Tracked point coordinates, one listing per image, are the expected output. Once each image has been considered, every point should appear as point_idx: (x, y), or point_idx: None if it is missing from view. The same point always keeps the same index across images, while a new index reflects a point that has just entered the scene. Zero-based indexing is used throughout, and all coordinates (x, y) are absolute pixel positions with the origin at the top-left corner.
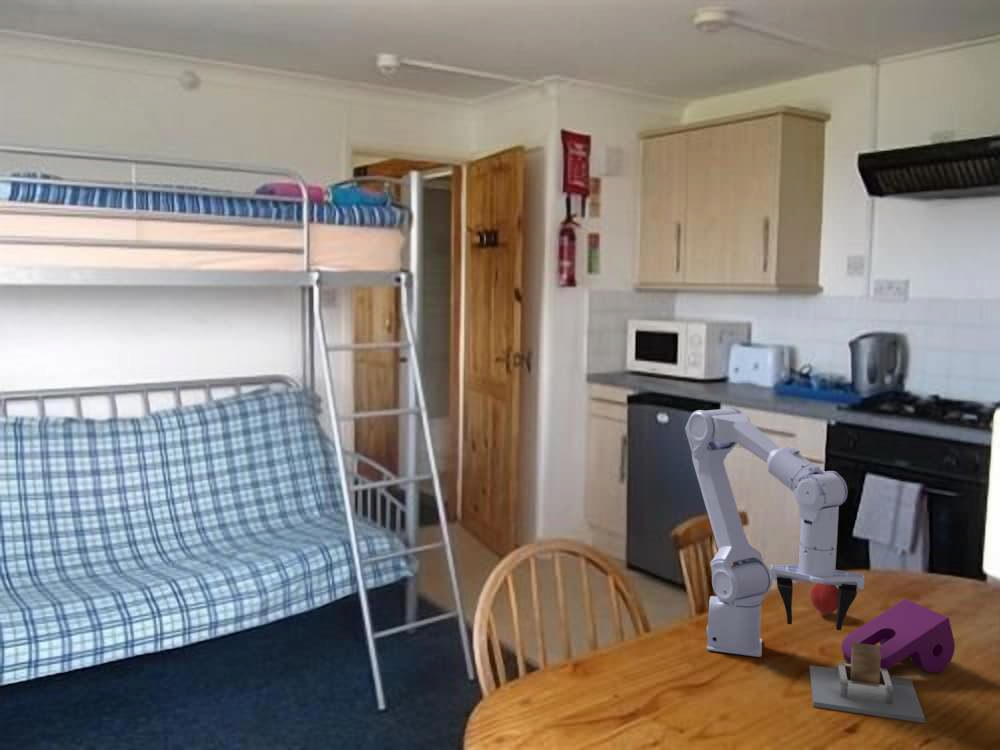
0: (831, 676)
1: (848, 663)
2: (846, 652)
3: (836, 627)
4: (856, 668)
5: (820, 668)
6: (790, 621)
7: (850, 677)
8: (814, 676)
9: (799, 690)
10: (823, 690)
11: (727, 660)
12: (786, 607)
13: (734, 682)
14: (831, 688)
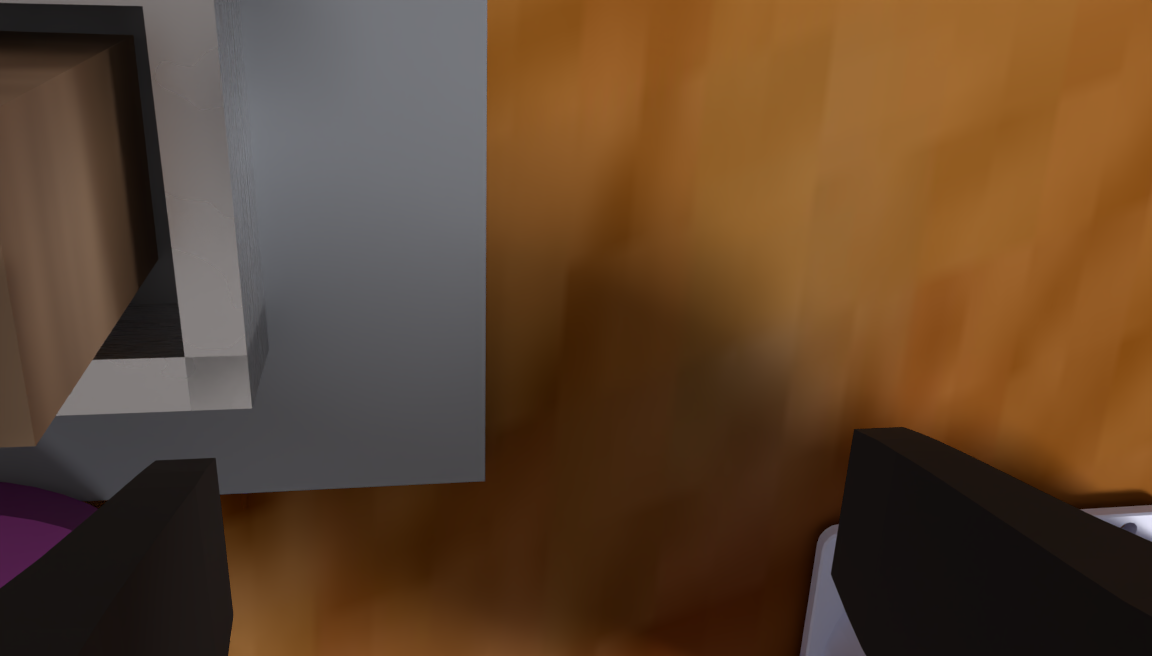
0: (315, 337)
1: None
2: None
3: (218, 514)
4: (11, 78)
5: (402, 453)
6: (896, 437)
7: (134, 232)
8: (455, 288)
9: (582, 55)
10: (387, 20)
11: (1057, 407)
12: (1108, 530)
13: (1080, 37)
14: (315, 91)
